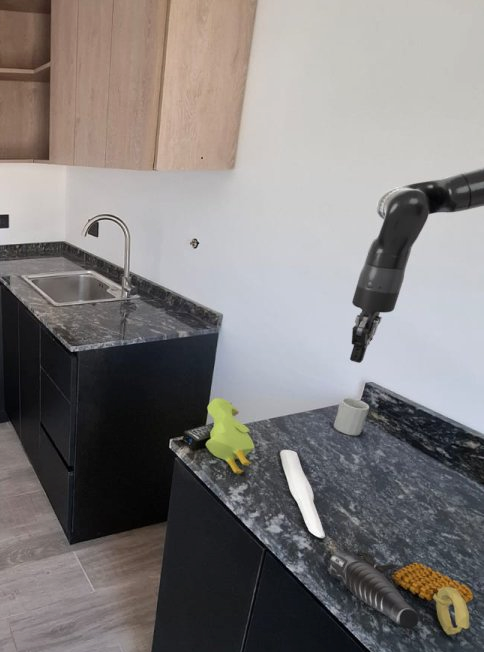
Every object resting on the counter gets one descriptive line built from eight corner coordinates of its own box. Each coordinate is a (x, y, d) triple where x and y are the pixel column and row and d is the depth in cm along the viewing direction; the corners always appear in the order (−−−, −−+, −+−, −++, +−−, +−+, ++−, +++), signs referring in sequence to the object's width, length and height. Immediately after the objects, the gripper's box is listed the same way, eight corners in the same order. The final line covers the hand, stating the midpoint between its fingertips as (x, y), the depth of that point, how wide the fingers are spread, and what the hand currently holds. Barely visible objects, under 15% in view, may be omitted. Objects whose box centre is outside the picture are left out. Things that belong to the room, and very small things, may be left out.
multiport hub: (228, 438, 116) (230, 430, 115) (195, 449, 111) (196, 441, 110) (214, 429, 119) (216, 421, 118) (181, 439, 115) (183, 431, 114)
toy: (286, 463, 104) (240, 396, 119) (229, 457, 98) (188, 386, 113) (268, 480, 107) (225, 412, 122) (212, 474, 101) (174, 404, 116)
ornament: (451, 591, 79) (507, 661, 65) (377, 576, 82) (415, 640, 68) (457, 553, 78) (515, 617, 64) (383, 540, 82) (422, 597, 67)
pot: (352, 423, 125) (360, 398, 122) (365, 436, 119) (374, 410, 117) (328, 421, 125) (336, 396, 123) (341, 434, 120) (349, 408, 117)
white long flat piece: (329, 540, 86) (331, 529, 85) (303, 537, 87) (304, 526, 86) (296, 455, 111) (297, 446, 110) (276, 453, 112) (277, 444, 112)
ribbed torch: (409, 638, 70) (413, 628, 68) (319, 576, 79) (320, 566, 78) (435, 594, 73) (440, 584, 71) (345, 539, 83) (347, 530, 81)
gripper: (392, 296, 93) (367, 375, 99) (406, 284, 102) (382, 358, 108) (349, 287, 98) (328, 363, 104) (365, 277, 107) (345, 348, 113)
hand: (356, 360), depth 106 cm, fingers closed
